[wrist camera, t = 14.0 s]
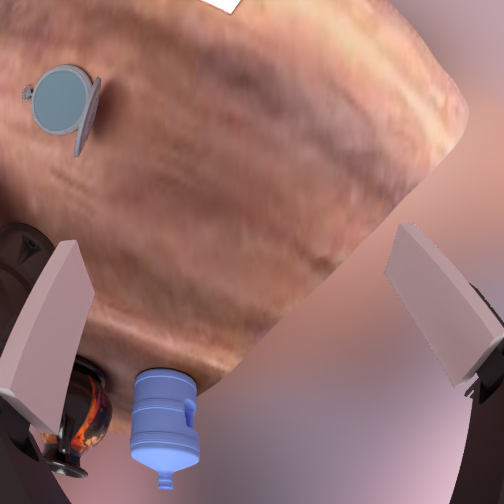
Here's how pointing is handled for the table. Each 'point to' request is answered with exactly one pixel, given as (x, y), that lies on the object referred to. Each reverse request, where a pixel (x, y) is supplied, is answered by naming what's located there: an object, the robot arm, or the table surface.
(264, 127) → the table surface
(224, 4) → the base
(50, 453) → the amphora vase
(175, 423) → the water jug
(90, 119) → the pocket watch
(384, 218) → the table surface
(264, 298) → the table surface
